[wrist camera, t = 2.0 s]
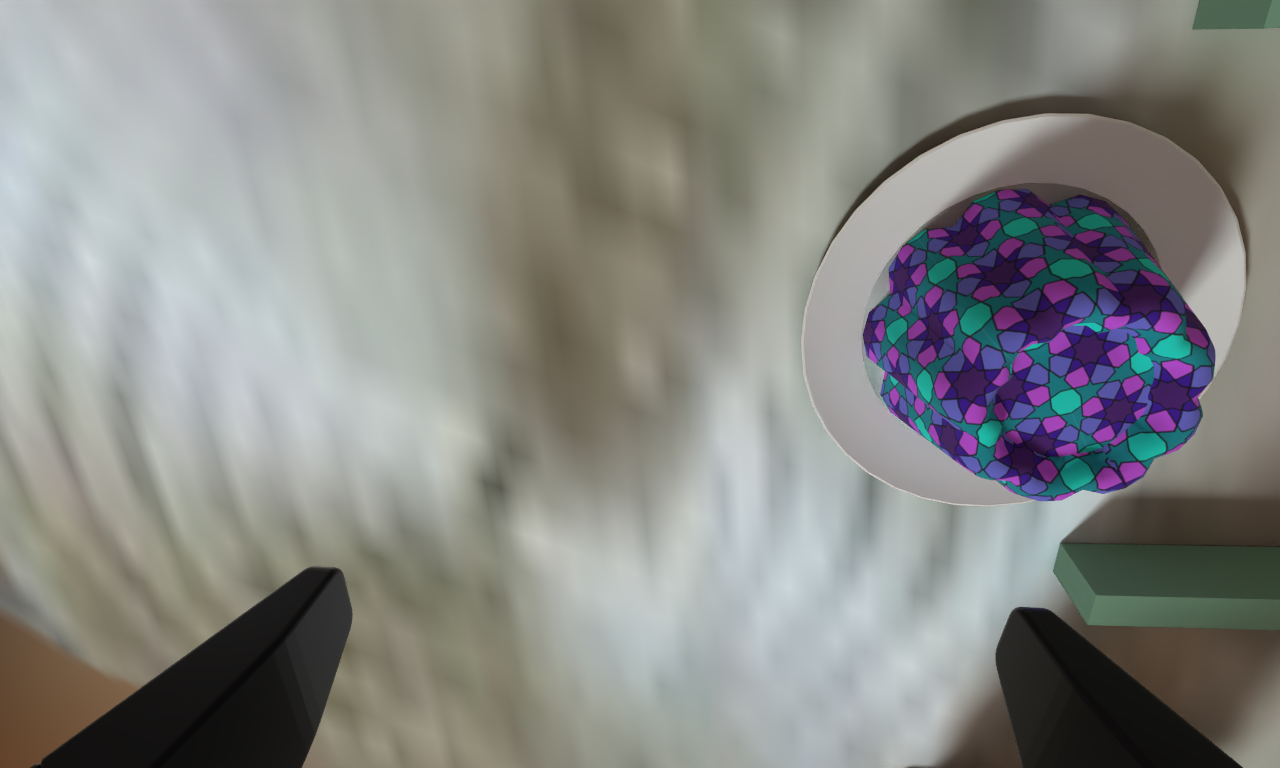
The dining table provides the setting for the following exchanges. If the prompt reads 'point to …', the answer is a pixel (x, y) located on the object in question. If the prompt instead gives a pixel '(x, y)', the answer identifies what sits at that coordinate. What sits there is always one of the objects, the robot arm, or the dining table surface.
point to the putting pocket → (1180, 574)
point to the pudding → (1027, 314)
